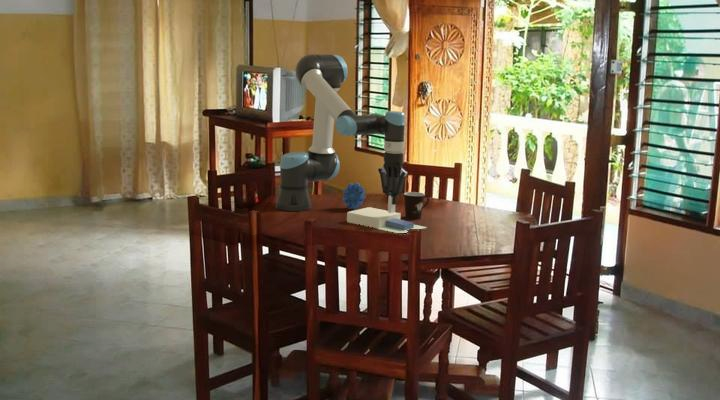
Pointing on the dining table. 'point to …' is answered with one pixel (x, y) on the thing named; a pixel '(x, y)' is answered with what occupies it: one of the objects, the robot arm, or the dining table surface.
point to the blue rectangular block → (399, 224)
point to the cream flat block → (371, 217)
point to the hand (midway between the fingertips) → (391, 212)
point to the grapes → (354, 195)
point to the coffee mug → (414, 204)
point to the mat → (395, 230)
